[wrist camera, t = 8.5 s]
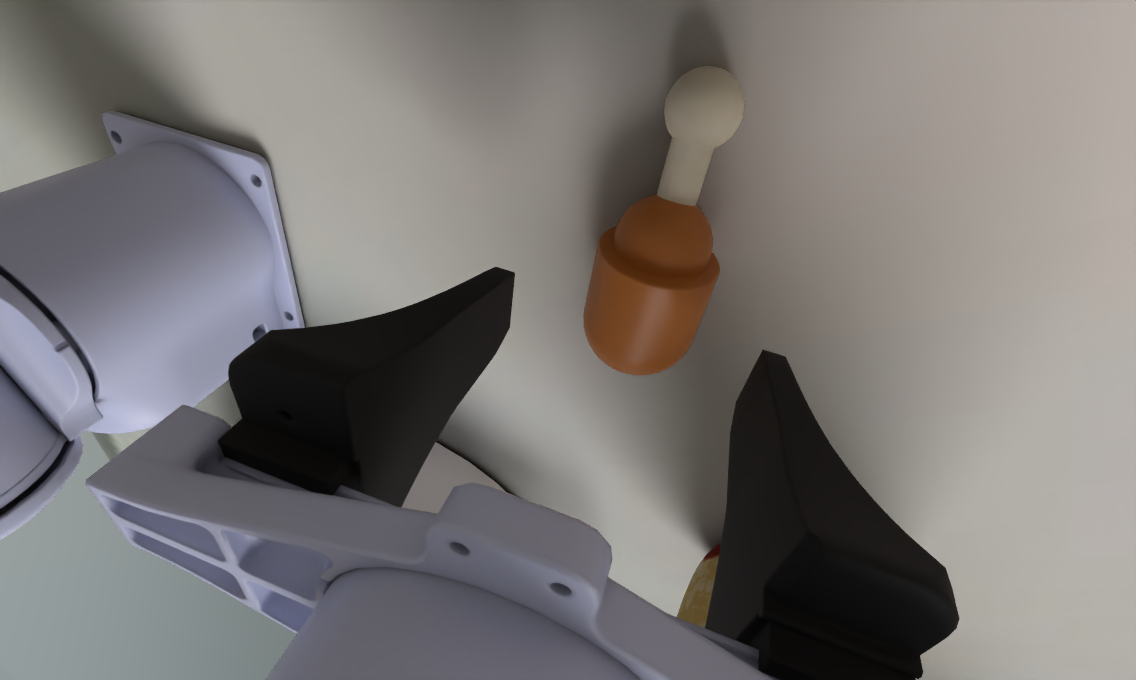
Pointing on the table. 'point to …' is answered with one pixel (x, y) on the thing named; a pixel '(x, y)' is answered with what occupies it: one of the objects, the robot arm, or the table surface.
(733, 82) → the drumstick
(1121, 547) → the table surface
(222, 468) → the robot arm
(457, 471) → the pot
